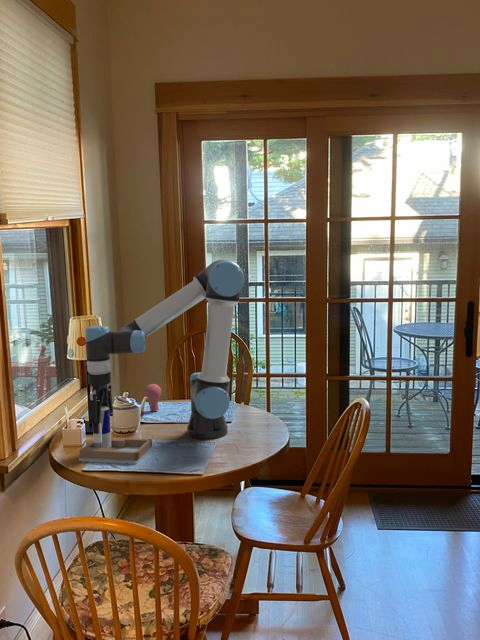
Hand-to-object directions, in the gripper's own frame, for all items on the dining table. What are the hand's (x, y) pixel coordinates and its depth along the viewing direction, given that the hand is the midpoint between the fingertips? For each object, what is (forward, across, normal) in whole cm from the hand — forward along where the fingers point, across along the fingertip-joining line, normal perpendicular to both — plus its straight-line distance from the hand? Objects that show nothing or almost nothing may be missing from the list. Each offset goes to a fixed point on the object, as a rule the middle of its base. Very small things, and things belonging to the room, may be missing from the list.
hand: (102, 438), depth 194 cm
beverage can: (+5, 0, 0) cm, 5 cm away
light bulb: (+5, -51, 0) cm, 51 cm away
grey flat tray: (+5, 0, +5) cm, 7 cm away
